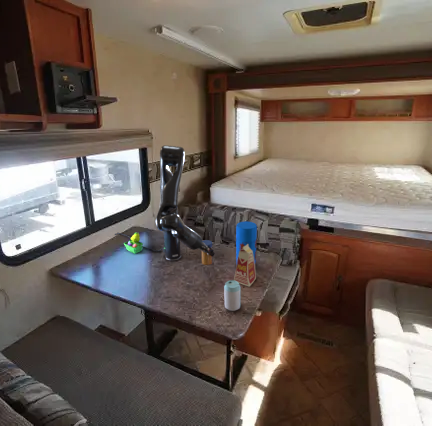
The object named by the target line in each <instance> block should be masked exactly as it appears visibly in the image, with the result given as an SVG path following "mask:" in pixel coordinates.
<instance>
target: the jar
mask: <svg viewBox="0 0 432 426" xmlns="http://www.w3.org/2000/svg"><path fill="white" fill-rule="evenodd" d="M211 248H212V249H213V246H212V247H211ZM204 250H205V249H204ZM200 253H201V264H202V265H204V266H210V265H212V264H213V257H212V256H211V255H209V254H208V253H204V252H203V251H201V250H200Z"/></svg>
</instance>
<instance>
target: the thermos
mask: <svg viewBox="0 0 432 426" xmlns="http://www.w3.org/2000/svg"><path fill="white" fill-rule="evenodd" d="M257 234H258V225H257V223H255V222H253V221H239V222H237V224H236V227H235V244H236V245H235V247H236V248H235V260H236V265H237V259H238V255H239V251H240V250H242V249H243V247H244V246H246V245H247V244H248V247H249V248H250V249H251V250H252V251H253V256H254V263H255V266H256V263H257Z"/></svg>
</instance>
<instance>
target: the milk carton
mask: <svg viewBox="0 0 432 426" xmlns="http://www.w3.org/2000/svg"><path fill="white" fill-rule="evenodd" d="M233 280H234V281H237V282H238V283H239V285H243V286H246V287H251V286H252V284H253V283H254V282H255V280H257V273H256V265H255V263H254V256H253V251H252V250H251V249H250V248H249V247H248V244H247V245H246V246H244V247H243V249H242V250H240V251H239V255H238V259H237V264H236V267H235V272H234V277H233Z"/></svg>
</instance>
